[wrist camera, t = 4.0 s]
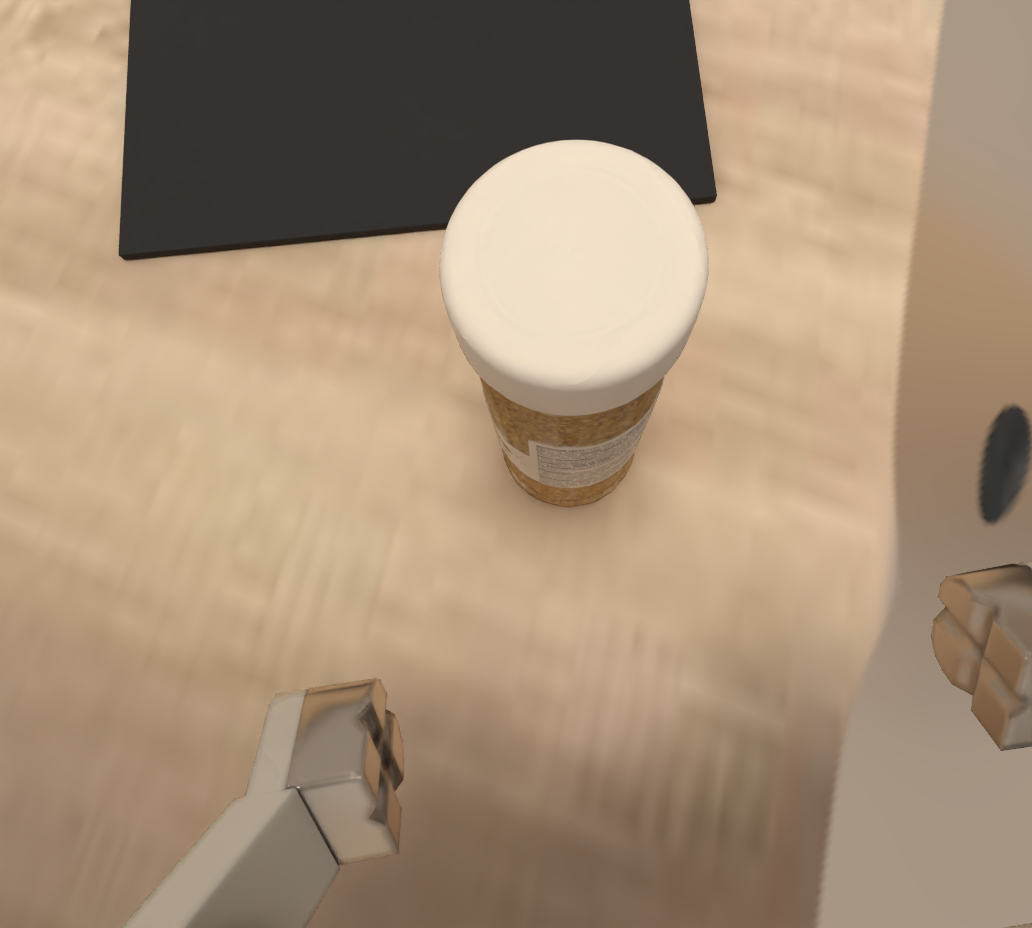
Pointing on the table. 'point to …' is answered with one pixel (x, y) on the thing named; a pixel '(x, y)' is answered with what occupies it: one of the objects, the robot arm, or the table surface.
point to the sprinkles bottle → (573, 306)
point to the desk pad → (383, 109)
